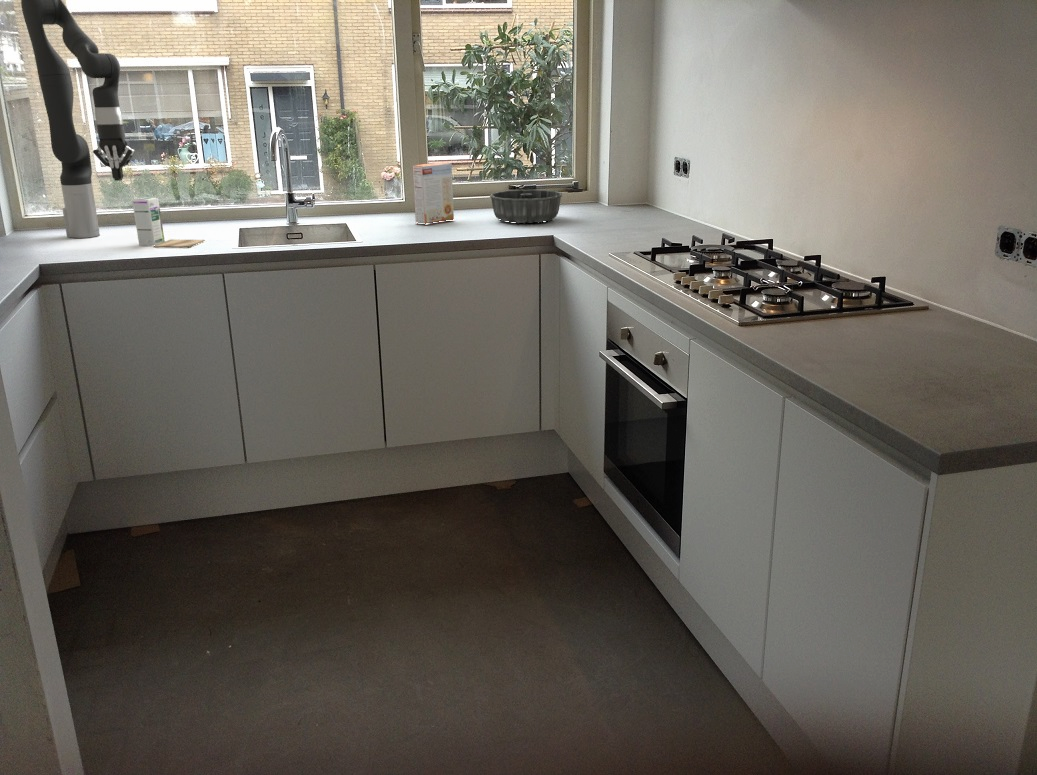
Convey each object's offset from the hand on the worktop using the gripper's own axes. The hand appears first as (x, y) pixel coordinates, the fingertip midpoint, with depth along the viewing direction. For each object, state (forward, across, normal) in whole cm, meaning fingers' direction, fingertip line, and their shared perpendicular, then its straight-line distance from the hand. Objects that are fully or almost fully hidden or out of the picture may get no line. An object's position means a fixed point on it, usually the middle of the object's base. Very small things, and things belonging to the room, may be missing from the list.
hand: (118, 180), depth 282 cm
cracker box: (+21, +91, +48) cm, 105 cm away
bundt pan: (+22, +124, +54) cm, 137 cm away
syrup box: (+20, +8, 0) cm, 22 cm away
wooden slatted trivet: (+20, +17, 0) cm, 26 cm away
